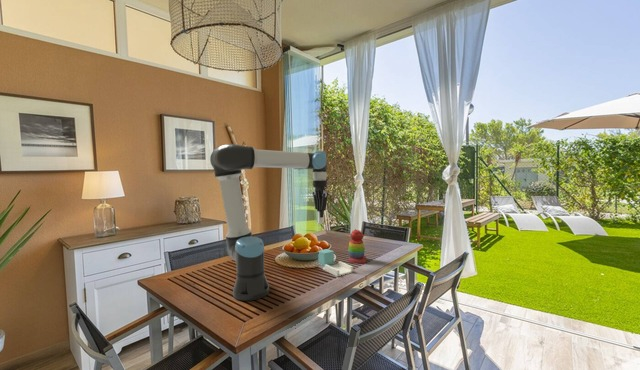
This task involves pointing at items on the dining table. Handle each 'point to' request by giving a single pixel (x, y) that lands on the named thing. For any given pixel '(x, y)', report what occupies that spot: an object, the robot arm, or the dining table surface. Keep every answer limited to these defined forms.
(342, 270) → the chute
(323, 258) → the block
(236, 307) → the dining table surface
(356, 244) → the stacking bear
